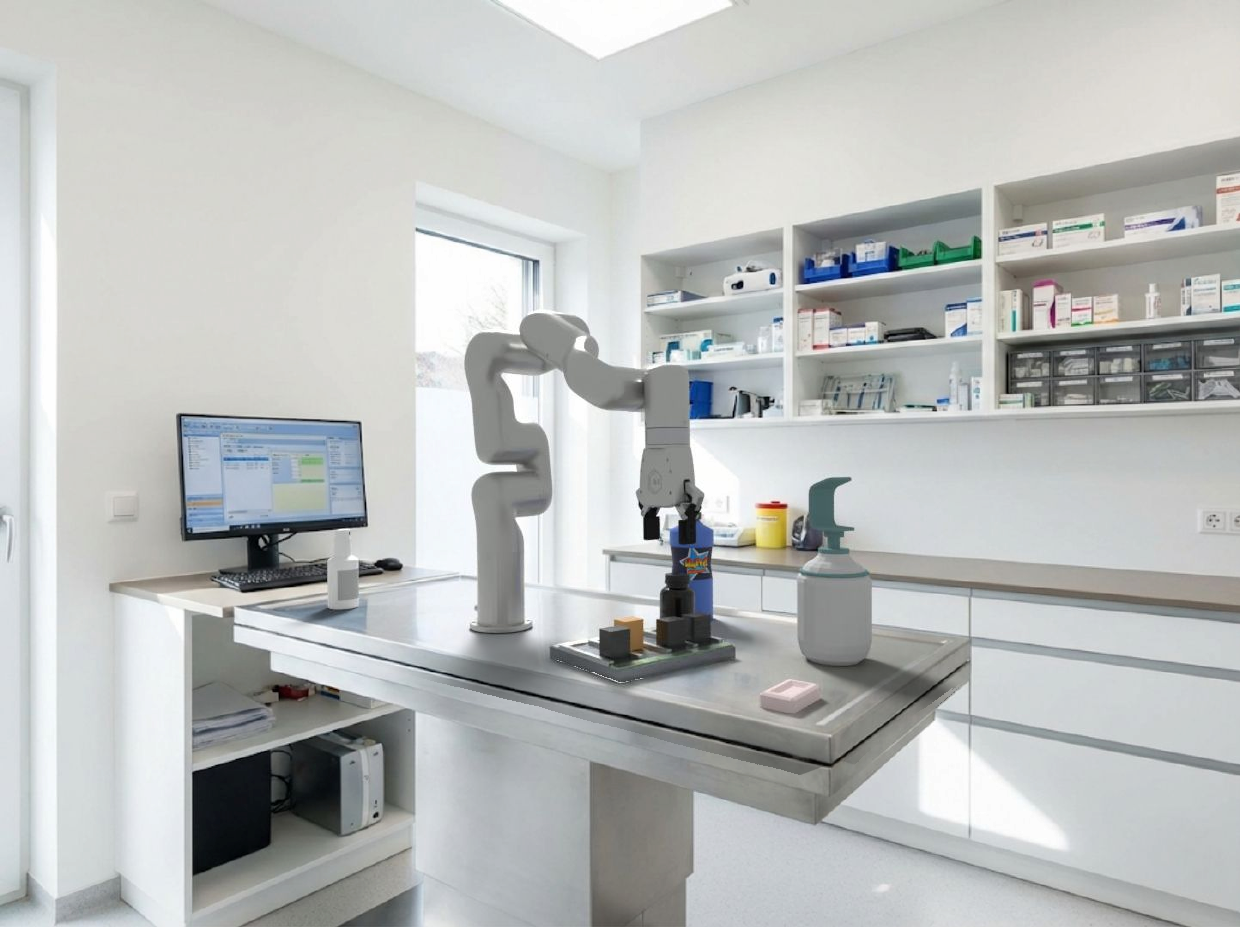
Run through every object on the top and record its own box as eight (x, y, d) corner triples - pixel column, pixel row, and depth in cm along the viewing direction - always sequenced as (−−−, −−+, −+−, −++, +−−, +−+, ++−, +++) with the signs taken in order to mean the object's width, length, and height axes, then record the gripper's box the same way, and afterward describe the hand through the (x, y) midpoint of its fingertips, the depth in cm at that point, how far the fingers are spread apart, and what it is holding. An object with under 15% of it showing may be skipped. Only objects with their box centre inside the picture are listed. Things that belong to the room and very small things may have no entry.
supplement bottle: (693, 640, 152) (692, 577, 152) (657, 639, 153) (656, 576, 153) (696, 632, 158) (696, 571, 158) (662, 631, 160) (662, 570, 160)
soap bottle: (827, 672, 129) (827, 478, 129) (782, 654, 141) (781, 476, 140) (887, 664, 134) (887, 477, 134) (839, 647, 146) (839, 475, 145)
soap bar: (758, 709, 112) (758, 691, 112) (787, 693, 119) (787, 677, 119) (793, 716, 109) (793, 699, 109) (821, 700, 116) (821, 683, 116)
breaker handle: (614, 648, 137) (614, 619, 137) (632, 645, 139) (632, 616, 139) (624, 652, 135) (624, 622, 135) (643, 648, 137) (643, 619, 137)
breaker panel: (549, 657, 139) (549, 617, 139) (660, 637, 154) (660, 600, 154) (620, 683, 123) (620, 638, 123) (735, 658, 139) (735, 617, 138)
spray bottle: (352, 610, 183) (352, 530, 183) (323, 610, 183) (322, 531, 183) (362, 604, 190) (362, 528, 189) (334, 604, 190) (333, 528, 190)
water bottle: (719, 622, 168) (718, 502, 167) (675, 624, 166) (675, 503, 166) (707, 613, 177) (706, 500, 177) (665, 615, 175) (665, 500, 175)
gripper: (619, 441, 140) (621, 539, 140) (682, 437, 125) (683, 547, 125) (654, 441, 144) (656, 536, 144) (718, 437, 129) (720, 544, 130)
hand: (669, 541), depth 135 cm, fingers open, 9 cm apart
